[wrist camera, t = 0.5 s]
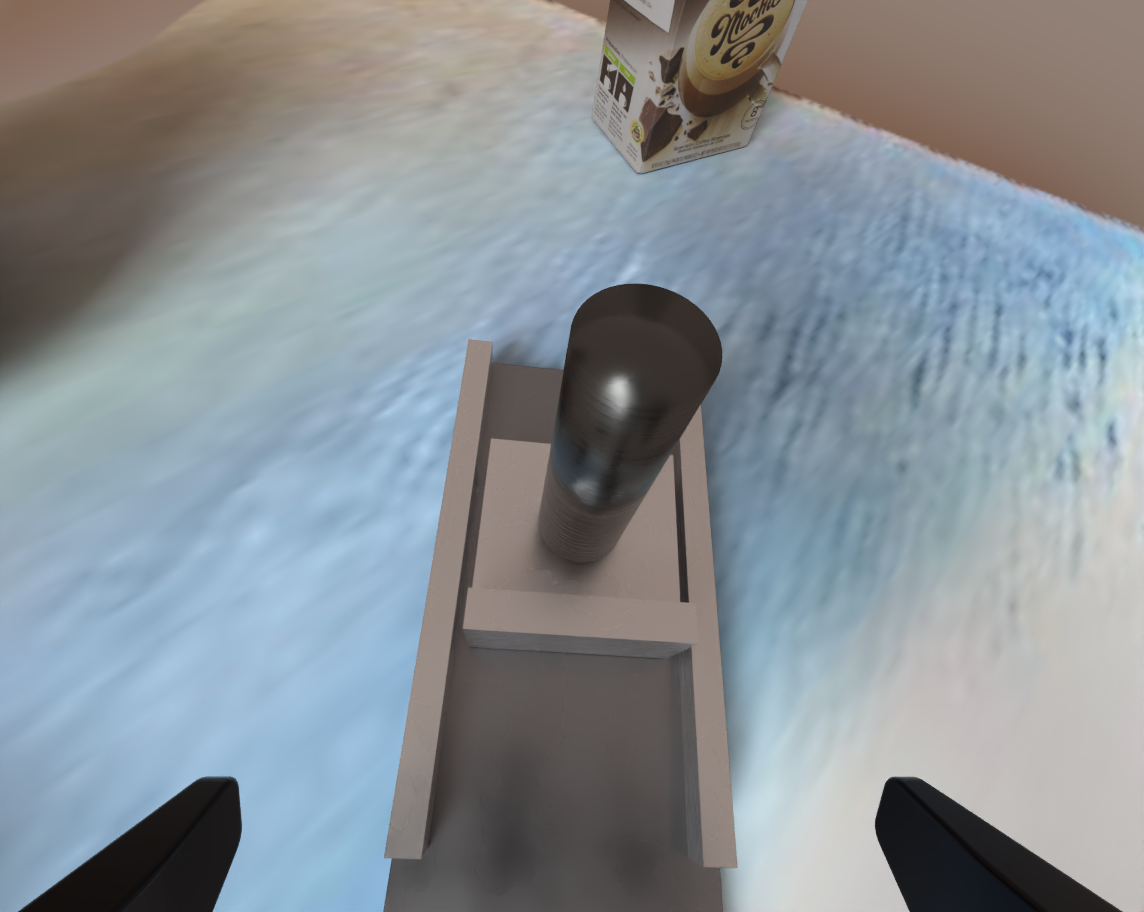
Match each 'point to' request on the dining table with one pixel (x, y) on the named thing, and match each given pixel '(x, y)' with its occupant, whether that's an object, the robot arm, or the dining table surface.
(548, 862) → the base
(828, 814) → the dining table surface
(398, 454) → the dining table surface
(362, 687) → the dining table surface
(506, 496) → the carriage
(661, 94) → the coffee box
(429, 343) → the dining table surface
